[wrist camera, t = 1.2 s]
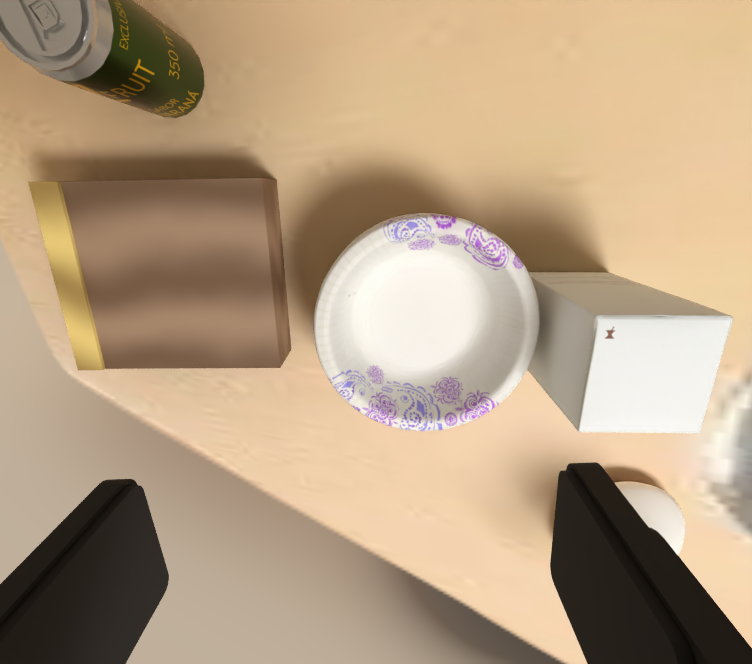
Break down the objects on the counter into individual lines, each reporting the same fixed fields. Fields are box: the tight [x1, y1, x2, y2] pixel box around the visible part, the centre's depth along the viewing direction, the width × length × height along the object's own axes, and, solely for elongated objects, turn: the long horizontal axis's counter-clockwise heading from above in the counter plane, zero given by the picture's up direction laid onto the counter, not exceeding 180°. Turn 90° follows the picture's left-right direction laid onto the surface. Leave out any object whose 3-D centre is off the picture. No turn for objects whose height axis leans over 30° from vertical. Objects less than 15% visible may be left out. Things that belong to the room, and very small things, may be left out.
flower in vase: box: [615, 481, 685, 555], centre depth 30 cm, size 13×11×25 cm
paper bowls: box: [313, 213, 540, 431], centre depth 31 cm, size 15×15×8 cm
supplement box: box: [527, 272, 733, 433], centre depth 29 cm, size 7×7×13 cm
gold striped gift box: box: [28, 178, 291, 370], centre depth 32 cm, size 14×16×4 cm
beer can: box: [0, 0, 204, 118], centre depth 24 cm, size 5×5×12 cm
